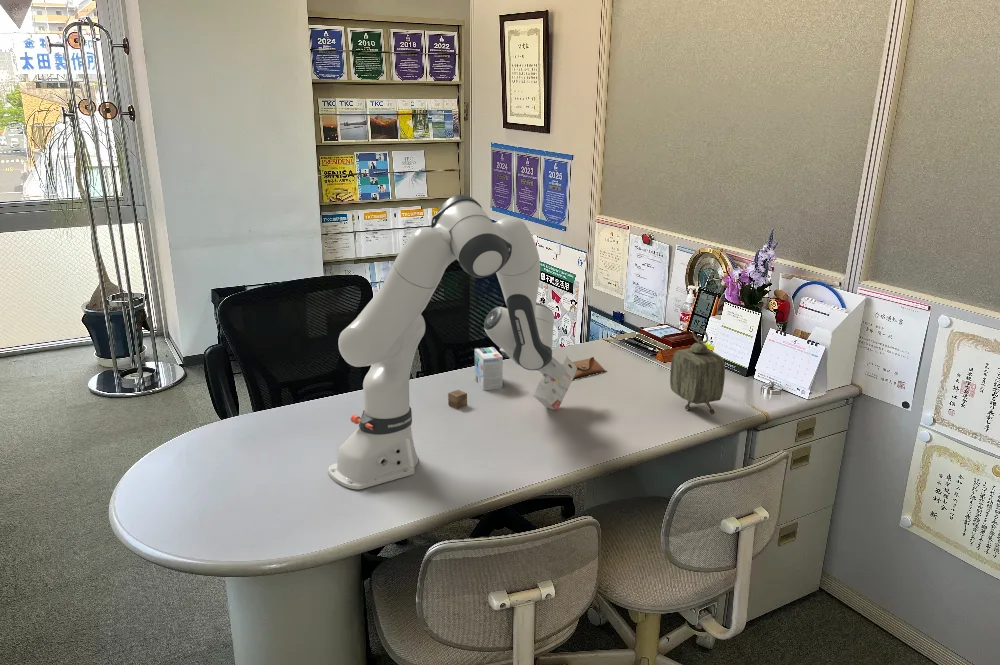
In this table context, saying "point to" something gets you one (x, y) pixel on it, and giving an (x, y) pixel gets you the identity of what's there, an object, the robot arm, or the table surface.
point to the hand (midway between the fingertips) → (549, 374)
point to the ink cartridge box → (555, 387)
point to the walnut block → (457, 399)
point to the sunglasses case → (586, 368)
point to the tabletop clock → (697, 374)
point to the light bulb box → (488, 368)
